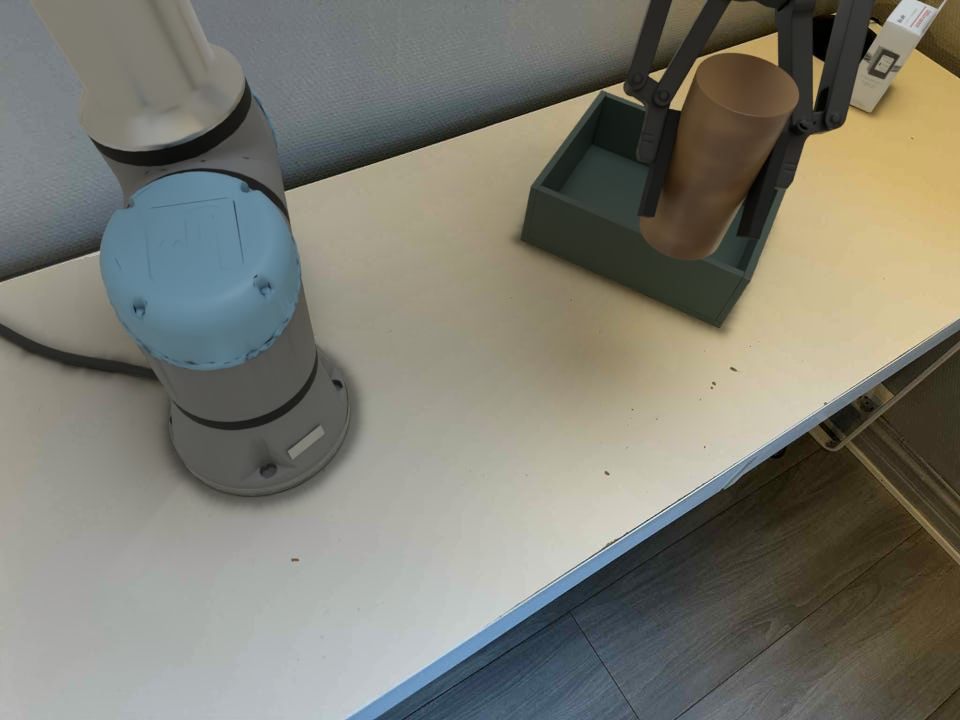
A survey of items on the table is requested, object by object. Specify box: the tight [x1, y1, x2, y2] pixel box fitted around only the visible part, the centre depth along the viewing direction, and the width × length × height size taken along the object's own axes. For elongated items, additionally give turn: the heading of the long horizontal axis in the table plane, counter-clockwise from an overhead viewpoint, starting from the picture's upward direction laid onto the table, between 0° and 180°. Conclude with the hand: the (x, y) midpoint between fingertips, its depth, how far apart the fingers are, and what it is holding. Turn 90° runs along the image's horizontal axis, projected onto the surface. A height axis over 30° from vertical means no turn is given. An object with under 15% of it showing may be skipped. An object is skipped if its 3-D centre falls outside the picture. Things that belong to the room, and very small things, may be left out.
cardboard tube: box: [639, 52, 799, 260], centre depth 43 cm, size 6×6×12 cm
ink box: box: [850, 0, 948, 113], centre depth 90 cm, size 8×5×15 cm, turn 143°
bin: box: [520, 89, 788, 328], centre depth 74 cm, size 24×20×8 cm
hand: (696, 226), depth 43 cm, fingers closed on cardboard tube, 6 cm apart
